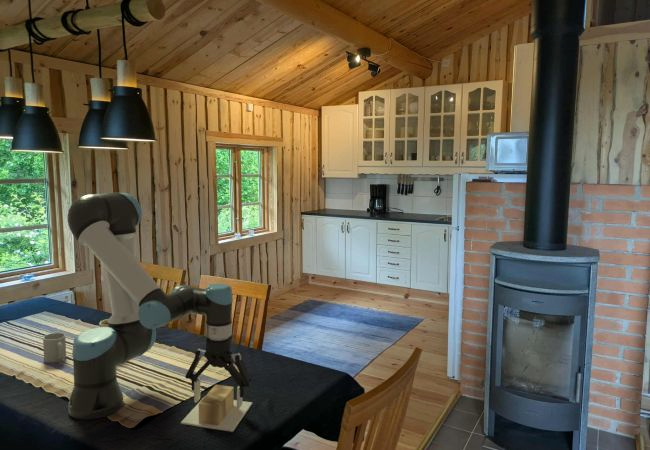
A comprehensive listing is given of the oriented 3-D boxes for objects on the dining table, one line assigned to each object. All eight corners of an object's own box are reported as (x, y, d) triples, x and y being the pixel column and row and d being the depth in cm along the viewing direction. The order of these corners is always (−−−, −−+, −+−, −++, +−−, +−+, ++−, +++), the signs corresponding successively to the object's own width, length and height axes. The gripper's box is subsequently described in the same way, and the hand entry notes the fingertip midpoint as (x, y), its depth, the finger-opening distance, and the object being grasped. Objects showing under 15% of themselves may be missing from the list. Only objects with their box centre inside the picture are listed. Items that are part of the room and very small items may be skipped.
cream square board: (180, 423, 138) (180, 422, 138) (205, 397, 154) (205, 395, 154) (232, 431, 135) (232, 430, 135) (252, 403, 151) (252, 402, 151)
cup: (61, 353, 182) (60, 331, 181) (72, 361, 176) (72, 338, 175) (40, 359, 177) (39, 336, 175) (51, 367, 170) (50, 343, 169)
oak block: (218, 425, 137) (233, 405, 149) (218, 406, 136) (233, 386, 148) (198, 422, 138) (215, 402, 150) (198, 403, 137) (215, 384, 149)
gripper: (173, 336, 140) (174, 403, 143) (254, 345, 135) (253, 415, 138) (185, 327, 147) (185, 392, 150) (263, 336, 142) (261, 402, 145)
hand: (218, 403), depth 144 cm, fingers open, 13 cm apart
